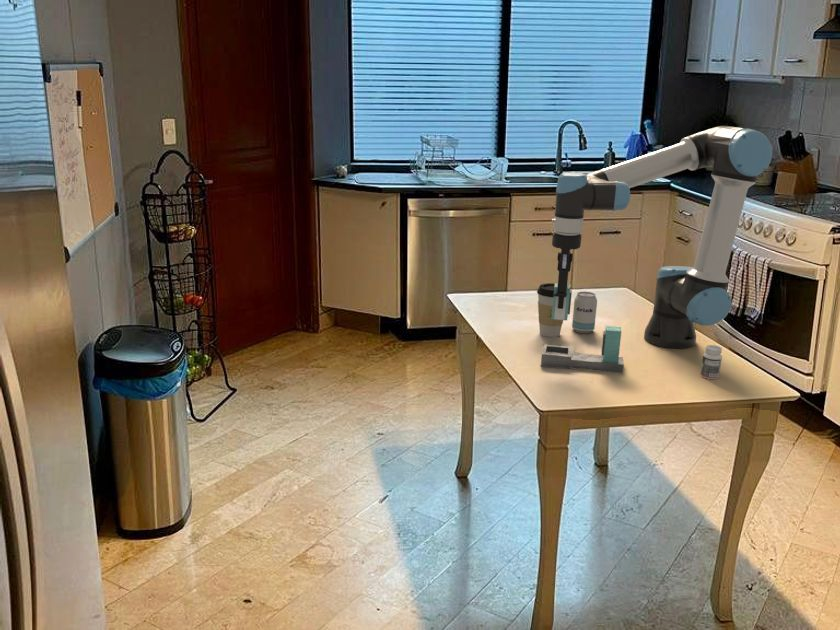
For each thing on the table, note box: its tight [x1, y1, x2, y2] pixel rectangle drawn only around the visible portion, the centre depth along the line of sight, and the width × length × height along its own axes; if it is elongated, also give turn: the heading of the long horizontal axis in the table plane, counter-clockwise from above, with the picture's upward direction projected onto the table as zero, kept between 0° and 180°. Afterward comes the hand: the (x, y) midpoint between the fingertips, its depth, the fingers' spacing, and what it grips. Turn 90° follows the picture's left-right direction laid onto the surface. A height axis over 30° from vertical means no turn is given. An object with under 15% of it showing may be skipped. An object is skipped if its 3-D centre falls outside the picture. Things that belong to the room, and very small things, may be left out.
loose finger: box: [552, 282, 573, 321], centre depth 216 cm, size 5×4×9 cm
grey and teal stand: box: [540, 325, 625, 374], centre depth 219 cm, size 22×8×11 cm, turn 78°
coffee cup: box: [536, 282, 564, 338], centre depth 243 cm, size 10×10×15 cm
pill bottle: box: [700, 344, 723, 380], centre depth 214 cm, size 5×5×8 cm
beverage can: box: [571, 291, 598, 334], centre depth 248 cm, size 7×7×12 cm
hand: (559, 316), depth 218 cm, fingers closed on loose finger, 4 cm apart
